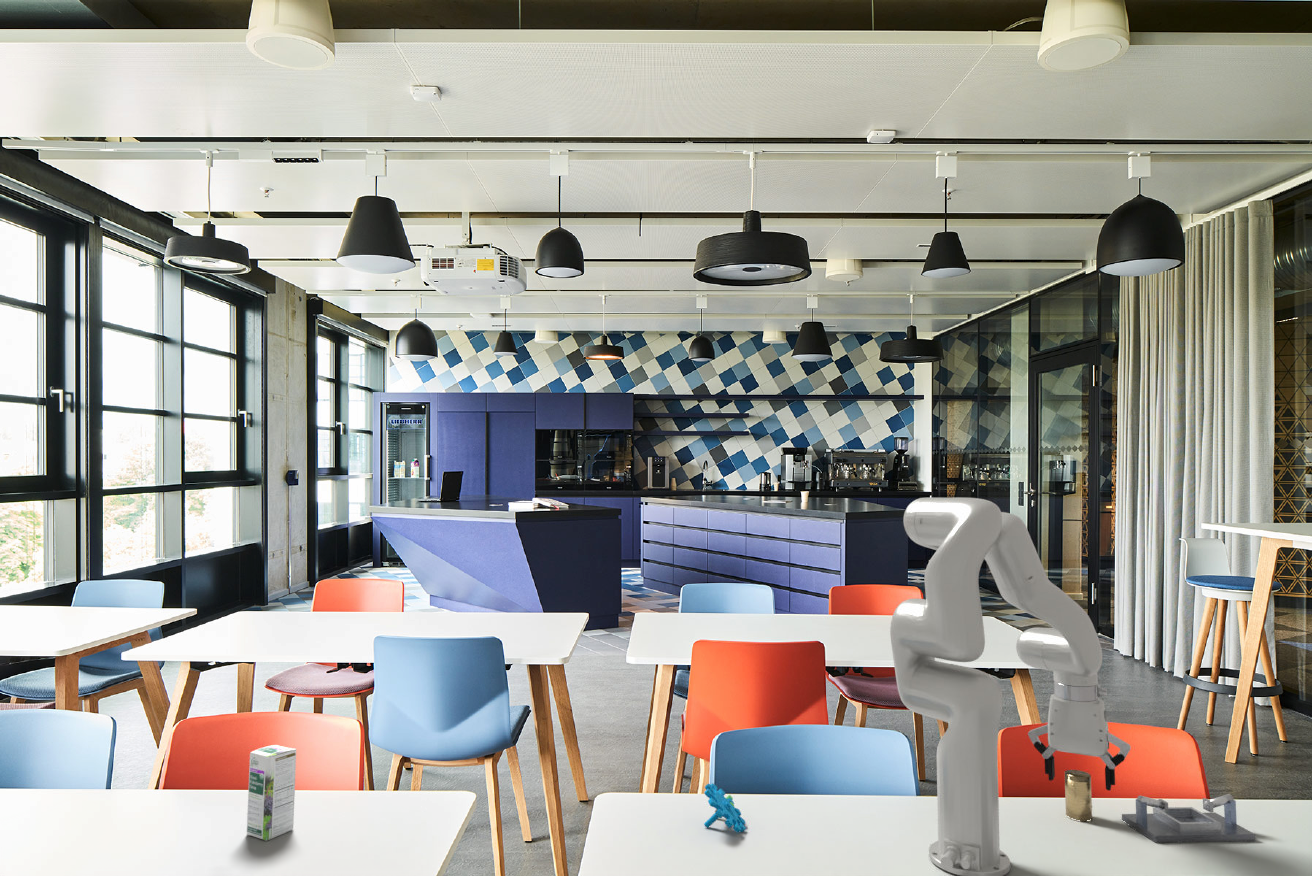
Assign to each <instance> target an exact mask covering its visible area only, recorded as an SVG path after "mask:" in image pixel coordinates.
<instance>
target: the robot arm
mask: <svg viewBox="0 0 1312 876" xmlns="http://www.w3.org/2000/svg"><path fill="white" fill-rule="evenodd" d="M903 527H904V531H905V532H906V535H907V536H908V537H909V538H910V540H911V541H913V542H914V543H915V544H917V545H919V546H922V547H924V548H928V549H932V550H933V551H934V550H935V552H934V554H933V555H932V557H931V558H930V559H929V561H928V564H927V565H926V569H925V571H924V576H923V577H924V589H925V590H924V591H925V592H924V593H925V599H924V598H909V599H906V600H904V601H902V602H900V603H899V604H898V606H897V607H896V608H895V609H894V612H893V615H892V618H891V622H890V627H889V629H890V631H889V632H890V634H889V635H890V644H891V650H892V657H893V665H894V666H893V667H894V671H895V680H896V686H897V692H898V695H899V697H900V700H901V702H902V703H903V705H904V706H905V707H906V708H907V709H908V710H910V711H911V712H914V713H916V714H919V715H921V716H925V717H929V718H933V719H935V720H939V721H942V722H945V723H947V724H948V726H947V727H948V728H947V729H946V731H945V733H944V734H943V735H942V736H941V738H940V740H939V742H938V744H937V748H936V788H937V789H936V790H937V791H936V792H937V793H936V794H937V796H936V797H937V799H936V800H937V841H935V842H933V843H932V844H930V846H929V848H928V857H929V859H930V861H931V862H932V863H933V864H934V865H935V866H937V867H938V868H939V869H941V870H944V871H945V872H947V873H951V874H953V875H957V876H1005V875H1007V874H1008V873H1009V872H1010V870H1011V859H1010V858H1009V856H1008V855H1007V854H1006V853H1005V852H1004V851H1002V850H1001V847H1000V812H999V811H1000V809H999V807H1000V806H999V804H1000V803H999V768H998V763H999V762H998V759H999V758H998V745H999V744H998V742H999V739H998V738H999V729H1000V723H1001V717H1002V712H1003V705H1004V694H1003V691H1002V688H1001V686H1000V684H999V682H998V681H997V680H996V679H995V678H994V677H993V676H992V675H990V674H989V673H986V672H985V671H982V670H980V669H976V668H973V667H968V666H963V665H958V664H955V663H947V662H943V661H938V660H936V659H939V660H940V659H941V660H945V661H951V662H957V663H958V662H959V663H970V662H975V661H976V660H979V658H980V657H981V656H982V655H983V653H984V650H985V643H986V638H985V637H986V636H985V635H986V634H985V627H984V619H983V611H982V604H981V596H980V587H979V586H980V585H979V577H980V570H981V567H982V564H983V562H984V561H985V562H986V564H987V566H988V568H989V570H990V572H991V575H992V577H993V580H994V581H995V582H994V583H995V584H996V586H997V589H998V591H999V594H1000V595H1001V597H1002V599H1003V600H1004V601H1006V602H1007V603H1008V604H1010V605H1011V606H1013V607H1015V608H1017V609H1018V610H1021V611H1022V612H1024V613H1027V614H1029V615H1031V616H1032V617H1035V618H1037V619H1039V620H1041V621H1043V622H1045V623H1046V624H1048V625H1049V626H1051V627H1032V628H1028V629H1026V630H1024V631H1022V633H1021V634H1020V635H1019V636H1018V638H1017V640H1016V645H1015V649H1016V653H1017V654H1016V655H1017V656H1018V657H1019V659H1020V660H1021V662H1022V663H1024V664H1026V665H1027V666H1030V667H1032V668H1035V669H1038V670H1044V671H1048V672H1049V671H1050V672H1052V673H1053V694H1051V695H1050V698H1049V705H1048V714H1047V724H1045V725H1041V726H1038V727H1036V728H1033V729H1031V730H1029V731H1028V732H1027V735H1028V737H1029V740H1030V741H1031V743H1032V745H1033V748H1035V750H1036V751H1038V753H1040V755H1041V756H1042V758H1043V759H1044V774H1045V775H1048V781H1054V779H1055V777H1056V770H1055V769H1056V768H1055V756H1054V754H1055V752H1056V751H1057V752H1063V753H1069V754H1070V753H1071V754H1075V755H1082V756H1089V757H1098V758H1100V759H1101V760H1102V762H1103V763H1104V764H1105V768H1104V780H1105V790H1106V791H1111V789H1112V786H1115V785H1116V772H1115V771H1116V769H1115V768H1117V767H1118V766H1119V765H1120V764H1121V763H1123V762H1124V761H1125V759H1126V758H1127V756H1128V754H1129V752H1130V751H1131V748H1132V747H1131V744H1129V743H1128V742H1127V741H1124V740H1122V739H1121V738H1119V737H1117V736H1116V735H1114V734H1112V733H1111V732H1109V724H1108V716H1107V712H1106V707H1105V706H1106V705H1105V703H1104V700H1103V699H1101V698H1100V697H1103V696H1104V697H1107V696H1108V690H1107V688H1103V687H1101V686H1100V685H1099V682H1098V681H1099V680H1098V672H1099V671H1100V668H1101V667H1102V663H1103V650H1102V645H1101V642H1100V639H1099V636H1098V634H1097V631H1096V629H1095V627H1094V624H1093V622H1092V620H1091V618H1090V615H1088V614H1087V612H1086V611H1085V610H1084V608H1083V607H1081V606H1080V604H1078V603H1077V602H1076V601H1075V600H1074V599H1073V598H1071V596H1069V595H1068V594H1067V593H1066V592H1064V590H1062V589H1061V588H1060V587H1058V586H1057V585H1056V584H1054V583H1052V582H1051V581H1050V580H1049V578H1048V576H1047V573H1046V571H1045V568H1044V566H1043V563H1042V562H1041V559H1040V557H1039V554H1038V552H1037V549H1036V546H1035V545H1034V543H1033V540H1032V538H1031V535H1030V533H1029V531H1028V528H1027V526H1026V524H1025V522H1024V521H1023V520H1022V519H1021V518H1020V517H1019V516H1017V515H1015V514H1012V513H1009V512H1005V511H1001V509H1000V507H999V506H998V505H997V504H996V503H994V502H992V501H991V500H987V499H984V498H976V497H919V498H917V499H915V500H913V501H912V502H910V503H909V504H908V505H907V507H906V509H905V510H904V513H903ZM1045 734H1047V743H1048V745H1047V746H1046V745H1045V744H1044V743H1043V742H1042V741H1041V740H1040V738H1039V736H1042V735H1045ZM1110 744H1112V745H1114V746H1115V747H1117V748H1119V752H1118V753H1117V754H1115V755H1114V756H1113V754H1111V752H1109V749H1110Z"/></svg>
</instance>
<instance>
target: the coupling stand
mask: <svg viewBox="0 0 1312 876" xmlns="http://www.w3.org/2000/svg"><path fill="white" fill-rule="evenodd" d="M1236 802H1237V801H1236V800H1235V799H1234V797H1233V796H1232V794H1230V793H1227V794H1224V795H1220V796H1218V797H1217V796H1216V797H1214V798H1211V799H1208V798H1205V797H1203V798H1202V807H1203V810H1205V811H1207V812H1201V811H1199V810H1198V809H1195V808H1194V807H1192V806H1180V807H1178V806H1175V807H1174V806H1173V807H1169V802H1167V801H1166V800H1164V799H1162V798H1158V799H1155V798H1151V797H1148V796H1144V795H1138V796H1137V798H1136V799H1135V813H1121V820H1123V821H1125V822H1126V823H1127V824H1126V823H1125V822H1124V823H1125V824H1126V825H1128V824H1129V825H1130V826H1129V825H1128V826H1129V827H1131V828H1132V827H1133V828H1132V829H1134V830H1135V829H1136V830H1135V831H1137V832H1139V833H1140V834H1142V835H1143V836H1144V837H1146V838H1147V839H1149V840H1150V841H1152V842H1154V843H1156V844H1165V843H1166V844H1169V843H1215V842H1216V843H1219V842H1221V843H1222V842H1223V843H1225V842H1256V834H1255V833H1254V832H1252V831H1250V830H1248V829H1246V828H1245V827H1243V826H1241V825H1240V824H1237V823H1238V822H1237V804H1236ZM1221 806H1223V809H1224V810H1223V811H1224V812H1223V814H1224V816H1222V815H1220V814H1219V813H1217V812H1214V809H1215V808H1218V807H1221ZM1148 807H1152V813H1148ZM1123 821H1122V822H1123Z"/></svg>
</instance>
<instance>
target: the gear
mask: <svg viewBox="0 0 1312 876" xmlns="http://www.w3.org/2000/svg"><path fill="white" fill-rule="evenodd" d="M704 789H705V790H704V793H703V794H704V795H705V796H706V797H707V798H708V800H707V802H708V804H709V806H710V807H711V808H714V809H715V810H714V814H712V815H711V816H710V817H709V818H708V819H707V820H706V821H705V822H704V823H703V824H704V827H705V828H706V827H709V826H710V827H711V826H712V825H713V824H714V823H715V822H716V821H717V820H719V819H722V818H723V819H725V821H724V824H725V825H726V826H727V828H729V829H730V828H732V829H733V830H734V832H735V833H737V834H739V833H743V832H744V831H745V830H746V829H747V828H746V826H745V824H746V820H745V819H744V818H743V817H741V815H742V811H741V810H740V809H739V808H736V807H735V802H734V801H733V800H734V798H733V796H732V795H731V794H728V796H726V797H725V795H726V792H725V791H724V790H723V789H722V788H719V790H718V787H717V785H716V784H714V783H707V784H706V785H705V786H704Z"/></svg>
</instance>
